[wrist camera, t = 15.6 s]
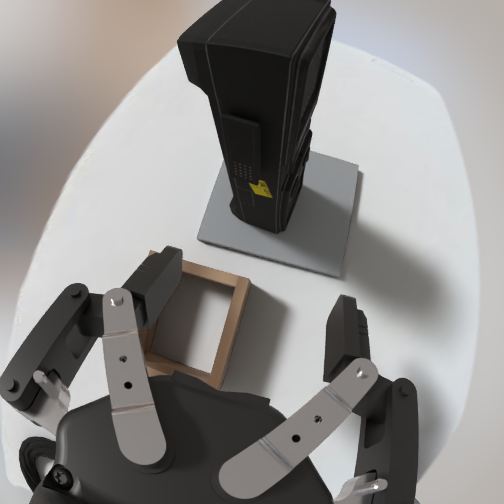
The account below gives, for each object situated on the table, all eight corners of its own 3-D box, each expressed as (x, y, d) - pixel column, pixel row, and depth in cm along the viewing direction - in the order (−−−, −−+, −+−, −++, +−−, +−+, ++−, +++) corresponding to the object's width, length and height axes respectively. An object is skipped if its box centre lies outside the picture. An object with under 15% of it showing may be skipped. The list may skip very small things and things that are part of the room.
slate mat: (356, 168, 31) (358, 165, 30) (337, 277, 29) (339, 276, 28) (234, 138, 33) (233, 133, 32) (198, 240, 30) (196, 238, 29)
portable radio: (279, 246, 29) (340, 25, 4) (227, 225, 29) (137, 6, 5) (303, 183, 30) (366, -30, 6) (254, 166, 31) (241, -51, 6)
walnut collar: (251, 282, 29) (249, 278, 24) (222, 385, 27) (214, 400, 22) (166, 258, 30) (150, 250, 25) (140, 356, 28) (120, 364, 23)
